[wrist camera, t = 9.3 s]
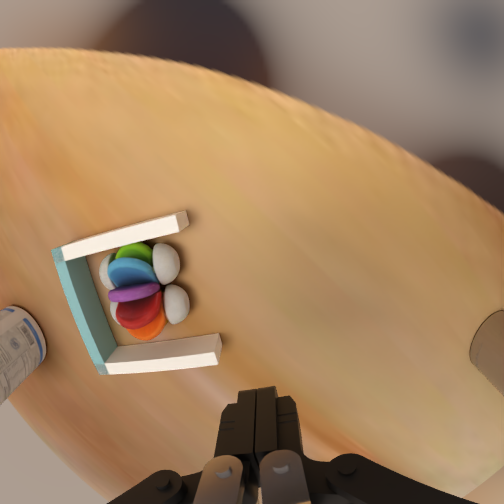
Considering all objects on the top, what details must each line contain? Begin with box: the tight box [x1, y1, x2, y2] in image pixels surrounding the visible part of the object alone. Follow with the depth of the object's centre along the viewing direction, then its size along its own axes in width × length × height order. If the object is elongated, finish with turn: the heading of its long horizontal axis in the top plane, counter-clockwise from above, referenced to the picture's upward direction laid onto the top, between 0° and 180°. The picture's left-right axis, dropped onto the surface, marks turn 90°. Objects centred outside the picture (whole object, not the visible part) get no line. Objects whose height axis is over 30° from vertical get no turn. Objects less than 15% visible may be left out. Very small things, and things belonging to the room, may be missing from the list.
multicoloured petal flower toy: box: [99, 242, 190, 340], centre depth 28 cm, size 8×10×7 cm
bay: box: [51, 210, 222, 375], centre depth 30 cm, size 14×15×4 cm
